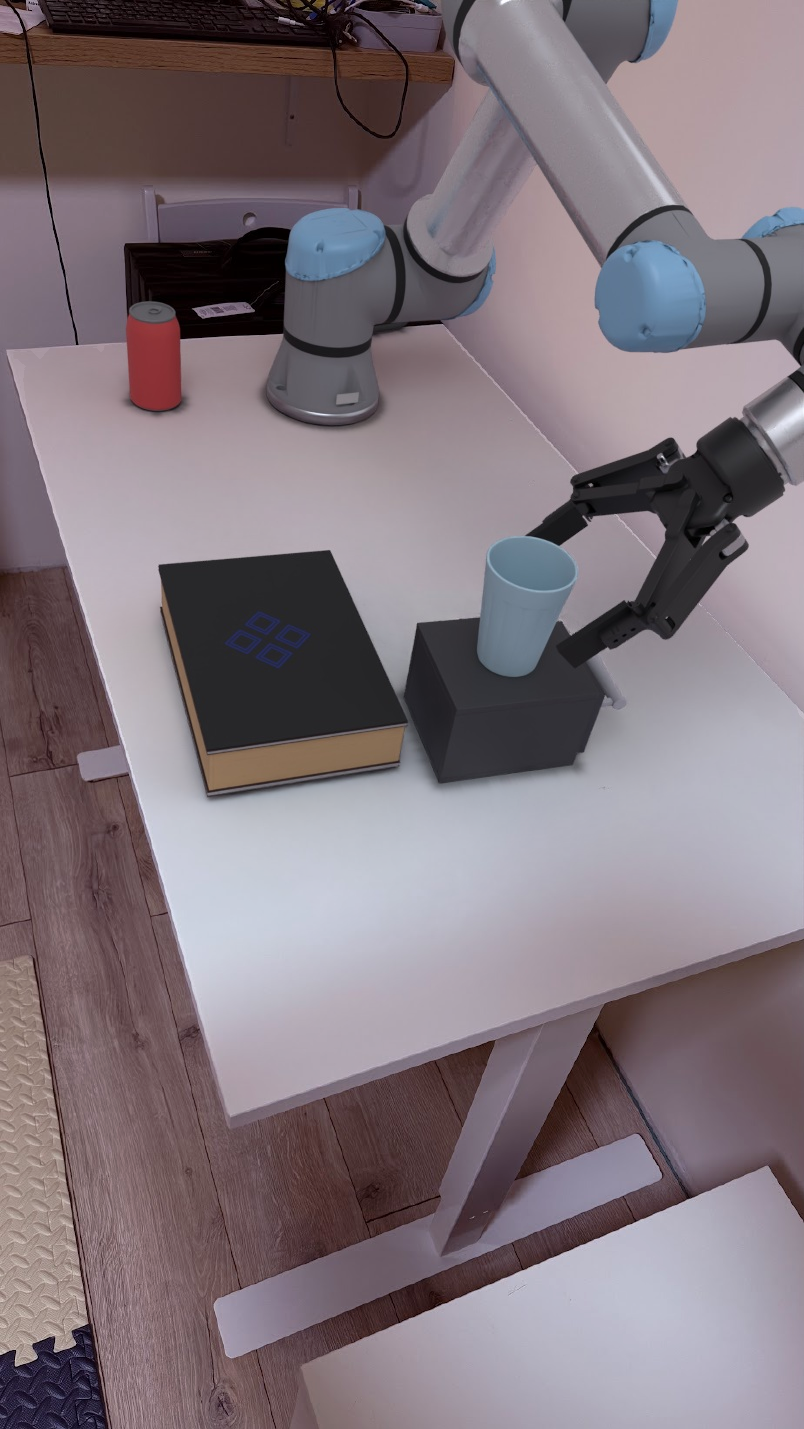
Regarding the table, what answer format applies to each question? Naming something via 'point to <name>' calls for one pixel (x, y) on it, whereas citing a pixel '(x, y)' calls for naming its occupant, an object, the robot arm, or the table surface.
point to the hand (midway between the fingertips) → (540, 604)
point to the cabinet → (493, 705)
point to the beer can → (154, 356)
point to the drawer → (604, 687)
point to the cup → (522, 602)
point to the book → (277, 672)
